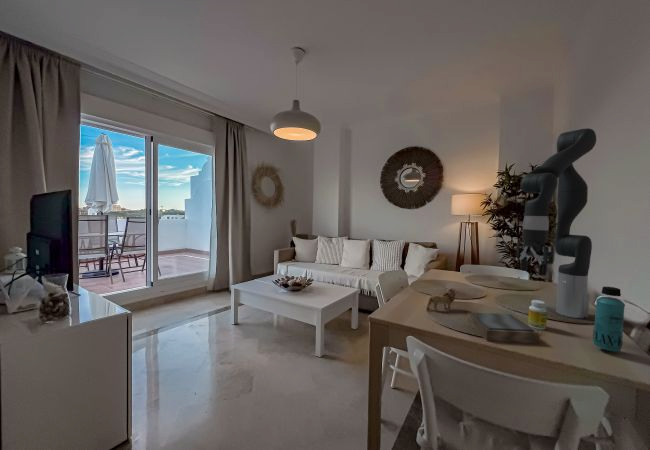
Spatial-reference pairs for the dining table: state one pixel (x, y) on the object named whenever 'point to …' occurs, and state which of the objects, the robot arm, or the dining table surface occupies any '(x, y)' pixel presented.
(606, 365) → the dining table surface
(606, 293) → the beverage bottle
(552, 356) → the dining table surface
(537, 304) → the supplement bottle
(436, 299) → the lion figurine
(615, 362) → the dining table surface
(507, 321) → the wooden framed mirror
